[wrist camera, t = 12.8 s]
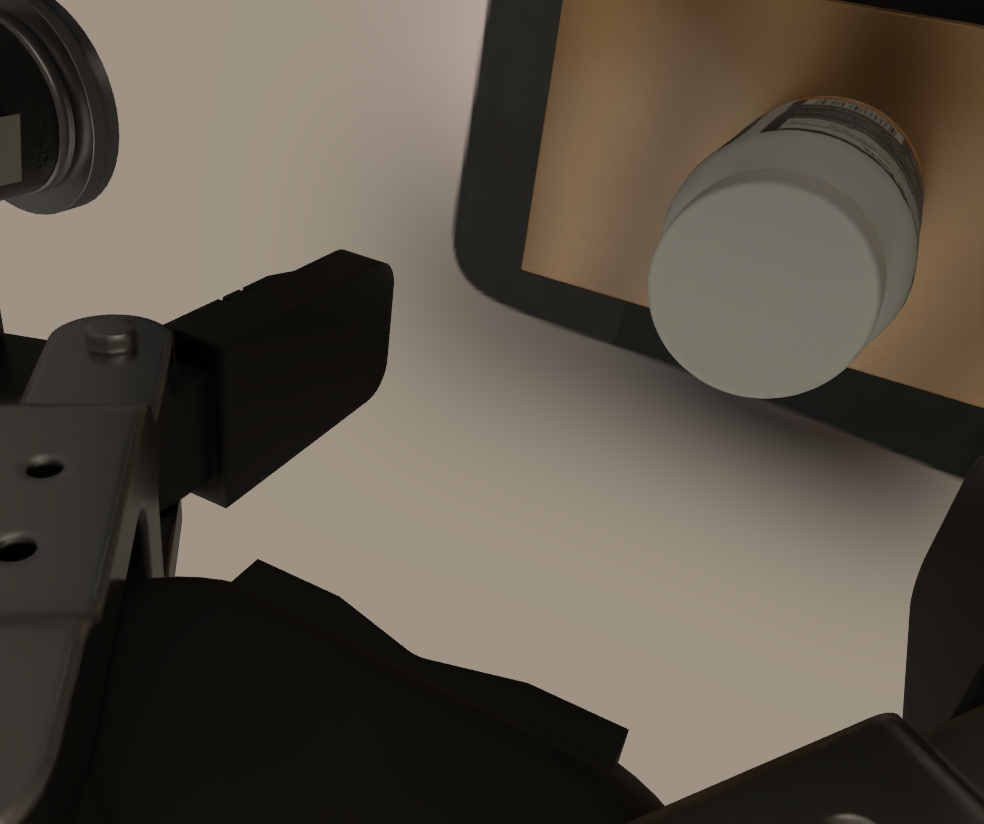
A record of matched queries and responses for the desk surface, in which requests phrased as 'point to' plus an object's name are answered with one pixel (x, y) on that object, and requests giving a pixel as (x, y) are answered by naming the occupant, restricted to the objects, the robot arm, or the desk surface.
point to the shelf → (733, 106)
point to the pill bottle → (789, 248)
